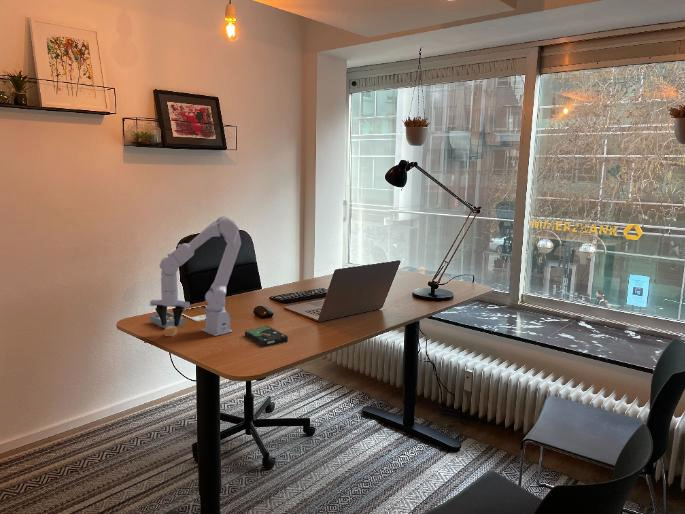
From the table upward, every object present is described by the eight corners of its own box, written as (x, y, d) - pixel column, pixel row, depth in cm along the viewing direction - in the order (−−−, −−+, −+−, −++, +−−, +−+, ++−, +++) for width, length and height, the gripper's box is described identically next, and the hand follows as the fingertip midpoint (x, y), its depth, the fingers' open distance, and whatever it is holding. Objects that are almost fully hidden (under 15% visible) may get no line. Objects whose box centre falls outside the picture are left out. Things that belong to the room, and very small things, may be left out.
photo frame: (196, 320, 218) (174, 310, 230) (196, 322, 218) (174, 313, 230) (227, 313, 228) (204, 305, 240) (227, 316, 228) (204, 307, 240)
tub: (184, 325, 212) (184, 318, 212) (165, 329, 206) (165, 322, 206) (168, 319, 220) (168, 311, 220) (150, 322, 214) (150, 315, 214)
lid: (191, 334, 204) (191, 325, 203) (182, 341, 196) (181, 332, 195) (160, 332, 205) (160, 323, 205) (149, 339, 197) (149, 330, 197)
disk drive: (288, 343, 197) (267, 332, 208) (288, 336, 197) (267, 325, 208) (264, 348, 191) (243, 337, 202) (264, 341, 190) (243, 329, 201)
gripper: (192, 288, 200) (193, 323, 203) (155, 286, 202) (157, 320, 204) (184, 292, 193) (185, 329, 196) (146, 290, 195) (148, 326, 198)
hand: (170, 325), depth 200 cm, fingers open, 4 cm apart
